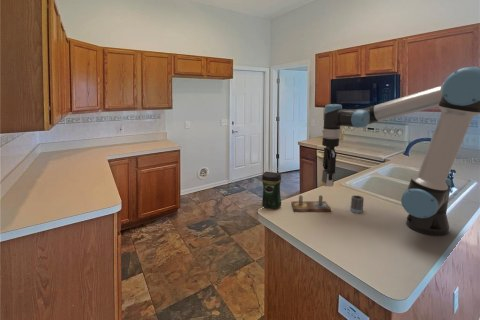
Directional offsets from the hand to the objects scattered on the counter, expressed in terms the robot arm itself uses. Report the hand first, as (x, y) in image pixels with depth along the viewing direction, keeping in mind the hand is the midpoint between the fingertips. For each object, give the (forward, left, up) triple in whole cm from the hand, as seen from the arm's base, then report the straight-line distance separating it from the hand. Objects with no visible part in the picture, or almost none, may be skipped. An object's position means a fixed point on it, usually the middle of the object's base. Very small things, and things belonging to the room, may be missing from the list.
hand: (327, 183), depth 132 cm
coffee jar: (+19, +20, -14) cm, 31 cm away
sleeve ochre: (0, 0, 0) cm, 0 cm away
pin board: (+6, +5, -14) cm, 16 cm away
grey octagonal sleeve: (-9, -11, -14) cm, 20 cm away
